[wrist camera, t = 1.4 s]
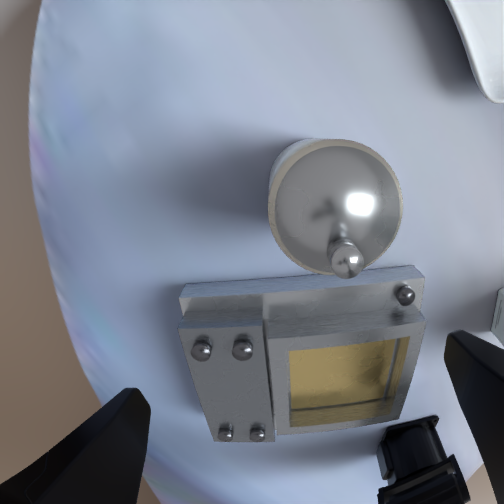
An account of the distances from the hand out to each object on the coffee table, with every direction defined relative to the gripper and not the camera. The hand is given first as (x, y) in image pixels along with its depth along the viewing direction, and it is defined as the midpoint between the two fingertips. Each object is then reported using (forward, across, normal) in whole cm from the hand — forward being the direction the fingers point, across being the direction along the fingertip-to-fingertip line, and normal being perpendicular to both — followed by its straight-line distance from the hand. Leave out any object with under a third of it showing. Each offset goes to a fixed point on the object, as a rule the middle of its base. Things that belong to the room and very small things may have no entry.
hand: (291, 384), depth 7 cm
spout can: (+13, -3, -3) cm, 13 cm away
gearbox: (+12, 0, +10) cm, 16 cm away
